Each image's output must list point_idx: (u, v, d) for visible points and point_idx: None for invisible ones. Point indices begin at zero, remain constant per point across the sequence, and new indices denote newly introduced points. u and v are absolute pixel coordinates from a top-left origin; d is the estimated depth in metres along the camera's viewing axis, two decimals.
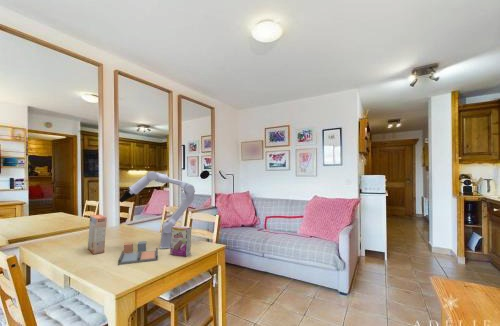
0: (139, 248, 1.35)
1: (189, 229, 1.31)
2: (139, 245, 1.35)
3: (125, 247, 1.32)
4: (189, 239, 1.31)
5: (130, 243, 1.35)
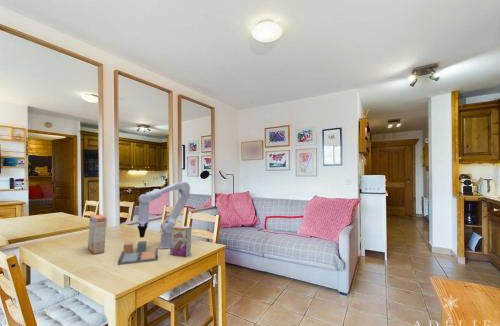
0: (139, 248, 1.35)
1: (189, 229, 1.31)
2: (139, 245, 1.35)
3: (125, 247, 1.32)
4: (189, 239, 1.31)
5: (130, 243, 1.35)
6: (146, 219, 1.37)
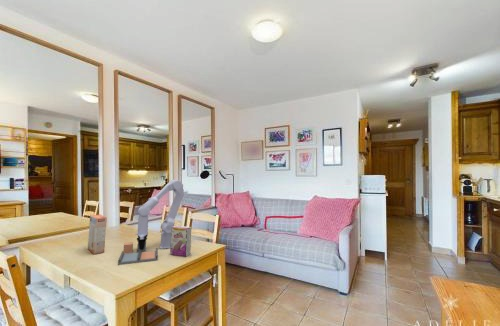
0: None
1: (189, 229, 1.31)
2: None
3: (125, 247, 1.32)
4: (189, 239, 1.31)
5: (130, 243, 1.35)
6: (145, 231, 1.37)
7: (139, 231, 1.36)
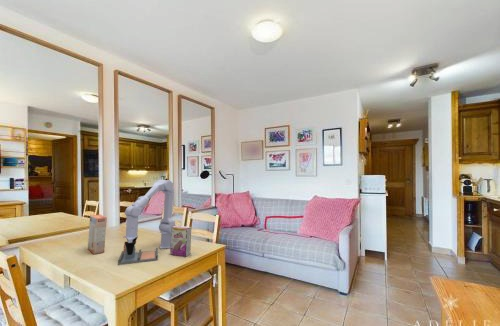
0: (127, 254, 1.21)
1: (189, 229, 1.31)
2: None
3: (125, 247, 1.32)
4: (189, 239, 1.31)
5: None
6: (135, 234, 1.23)
7: (127, 233, 1.22)
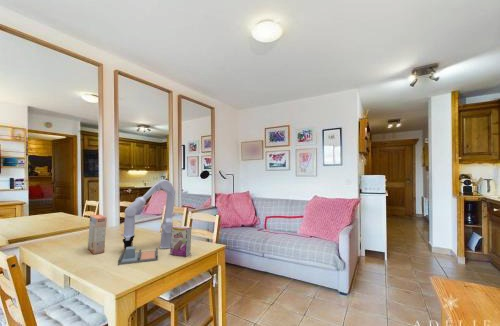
0: (127, 254, 1.21)
1: (189, 229, 1.31)
2: (127, 251, 1.21)
3: None
4: (189, 239, 1.31)
5: None
6: (132, 232, 1.34)
7: (125, 232, 1.33)
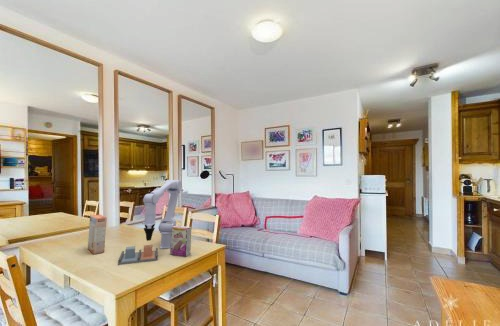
0: (127, 254, 1.21)
1: (189, 229, 1.31)
2: (127, 251, 1.21)
3: (145, 250, 1.25)
4: (189, 239, 1.31)
5: (150, 246, 1.28)
6: (153, 221, 1.27)
7: (146, 220, 1.26)
